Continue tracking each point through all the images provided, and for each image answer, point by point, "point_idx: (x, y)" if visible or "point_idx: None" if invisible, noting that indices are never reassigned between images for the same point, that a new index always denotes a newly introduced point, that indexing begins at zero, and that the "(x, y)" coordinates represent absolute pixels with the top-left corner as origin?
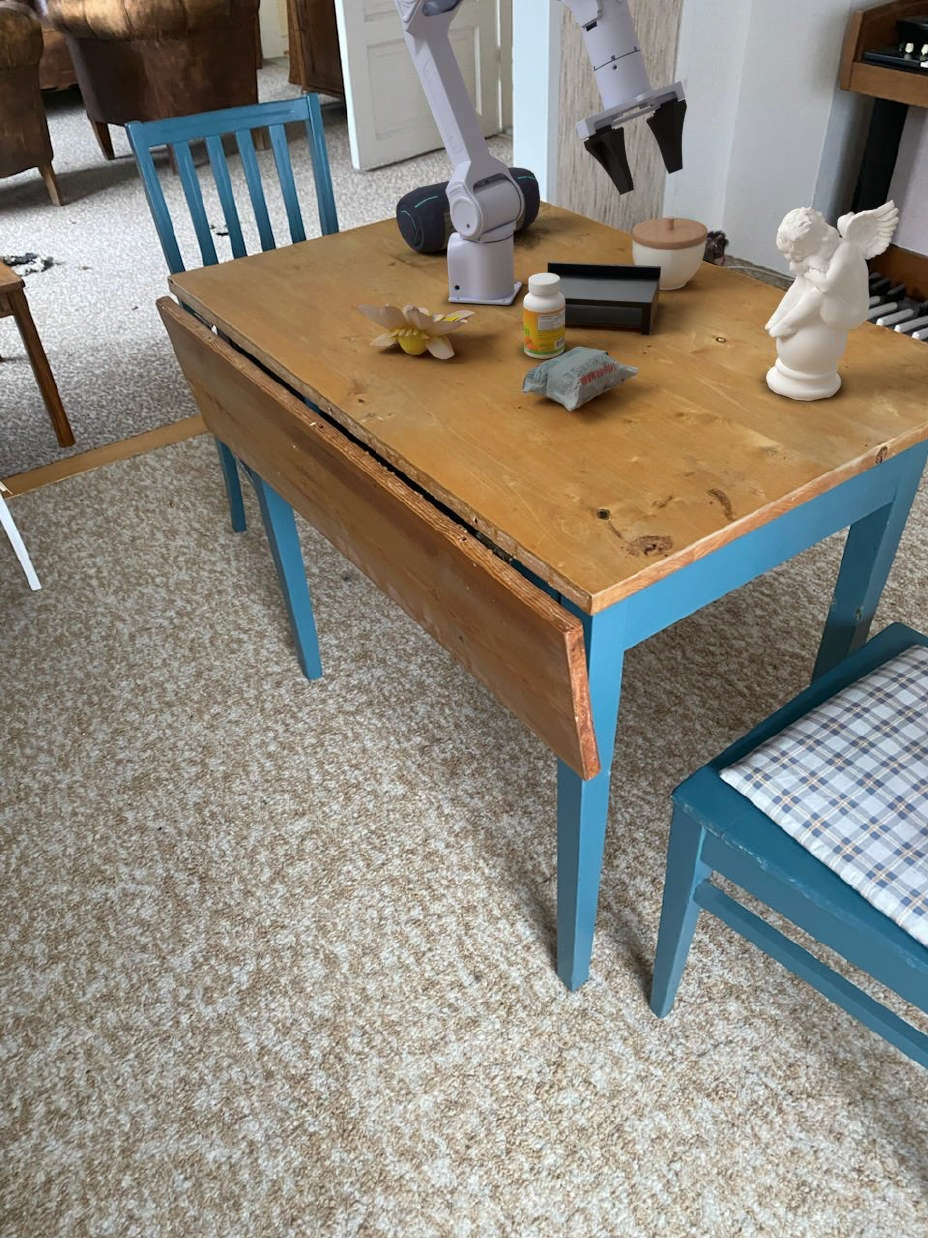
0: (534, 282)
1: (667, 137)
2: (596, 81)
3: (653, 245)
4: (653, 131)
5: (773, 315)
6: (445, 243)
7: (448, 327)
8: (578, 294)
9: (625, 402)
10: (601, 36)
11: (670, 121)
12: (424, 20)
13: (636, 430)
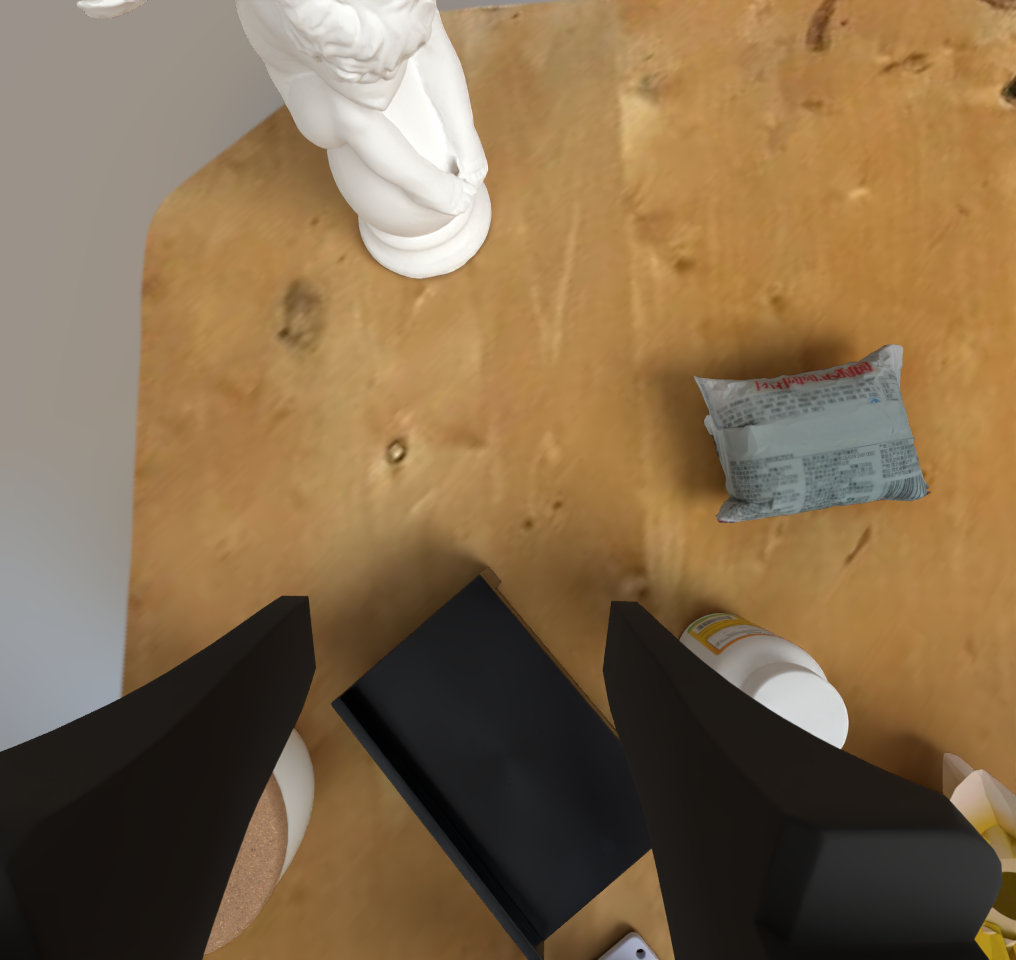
0: (841, 715)
1: (221, 764)
2: None
3: (278, 794)
4: (203, 942)
5: (443, 191)
6: None
7: (1007, 798)
8: (584, 742)
9: (732, 363)
10: None
11: (151, 787)
12: None
13: (787, 268)
